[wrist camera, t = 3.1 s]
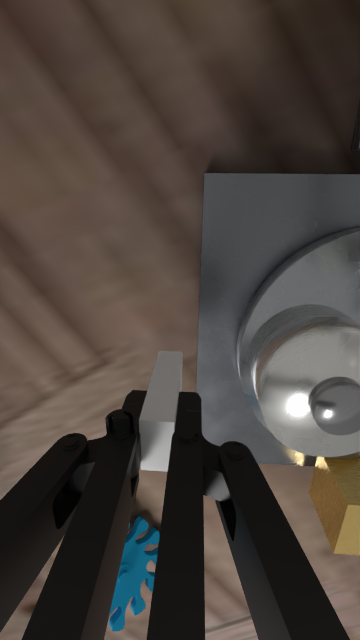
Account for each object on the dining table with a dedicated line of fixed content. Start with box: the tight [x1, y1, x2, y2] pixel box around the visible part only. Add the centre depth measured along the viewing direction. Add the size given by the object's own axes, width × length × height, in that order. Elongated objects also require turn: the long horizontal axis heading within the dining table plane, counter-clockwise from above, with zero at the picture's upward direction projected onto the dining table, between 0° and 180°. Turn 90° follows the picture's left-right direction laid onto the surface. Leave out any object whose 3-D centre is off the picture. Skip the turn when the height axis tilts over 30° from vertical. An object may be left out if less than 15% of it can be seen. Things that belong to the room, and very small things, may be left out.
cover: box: [247, 304, 360, 457], centre depth 18 cm, size 8×8×6 cm
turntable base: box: [196, 173, 360, 466], centre depth 23 cm, size 24×24×1 cm
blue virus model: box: [109, 516, 160, 631], centre depth 31 cm, size 11×6×10 cm
